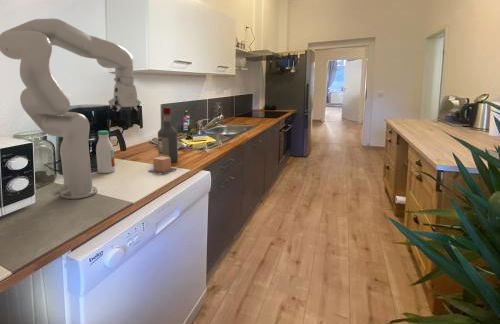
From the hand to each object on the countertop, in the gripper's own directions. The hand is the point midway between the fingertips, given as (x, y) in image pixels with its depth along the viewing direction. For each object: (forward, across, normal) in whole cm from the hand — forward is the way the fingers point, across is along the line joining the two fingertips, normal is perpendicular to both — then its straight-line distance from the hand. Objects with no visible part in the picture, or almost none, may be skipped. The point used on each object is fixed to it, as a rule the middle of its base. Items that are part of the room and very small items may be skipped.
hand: (126, 119), depth 142 cm
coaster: (+26, +14, -9) cm, 30 cm away
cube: (+25, +14, -9) cm, 30 cm away
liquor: (+25, +30, +2) cm, 39 cm away
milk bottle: (+26, -2, +12) cm, 29 cm away
